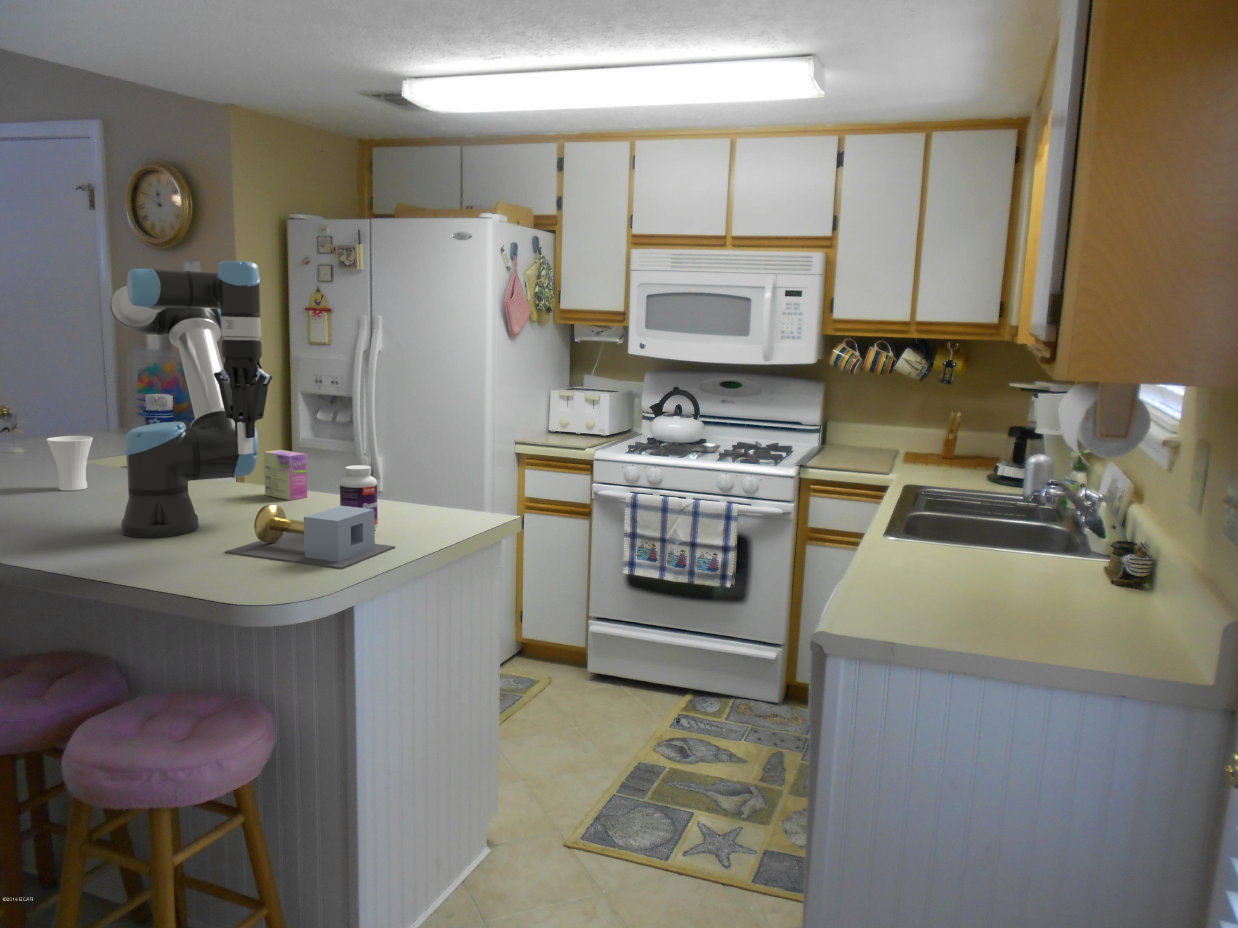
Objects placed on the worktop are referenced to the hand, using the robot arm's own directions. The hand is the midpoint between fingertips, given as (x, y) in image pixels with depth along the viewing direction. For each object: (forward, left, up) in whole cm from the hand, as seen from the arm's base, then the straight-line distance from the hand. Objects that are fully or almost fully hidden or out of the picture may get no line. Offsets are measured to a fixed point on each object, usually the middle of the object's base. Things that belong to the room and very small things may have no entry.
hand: (245, 453), depth 186 cm
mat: (+16, 0, -19) cm, 25 cm away
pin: (+14, 0, -18) cm, 23 cm away
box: (-25, +42, -19) cm, 53 cm away
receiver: (+23, 0, -19) cm, 30 cm away
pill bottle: (+14, +19, -19) cm, 30 cm away
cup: (-80, +25, -19) cm, 86 cm away
